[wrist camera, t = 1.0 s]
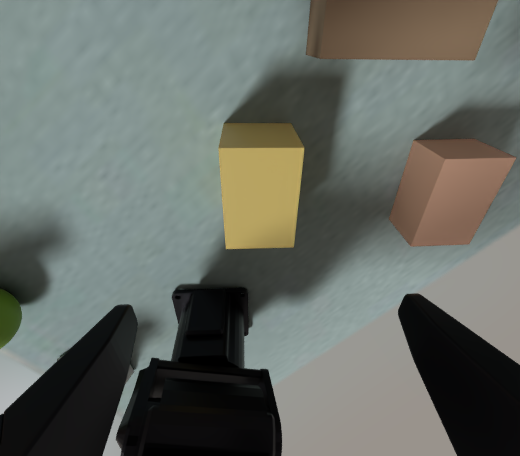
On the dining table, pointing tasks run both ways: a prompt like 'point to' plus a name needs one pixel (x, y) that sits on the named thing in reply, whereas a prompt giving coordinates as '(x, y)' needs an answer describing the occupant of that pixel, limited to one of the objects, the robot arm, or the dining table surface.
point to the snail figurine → (8, 317)
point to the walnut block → (398, 29)
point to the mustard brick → (260, 184)
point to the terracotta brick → (447, 190)
